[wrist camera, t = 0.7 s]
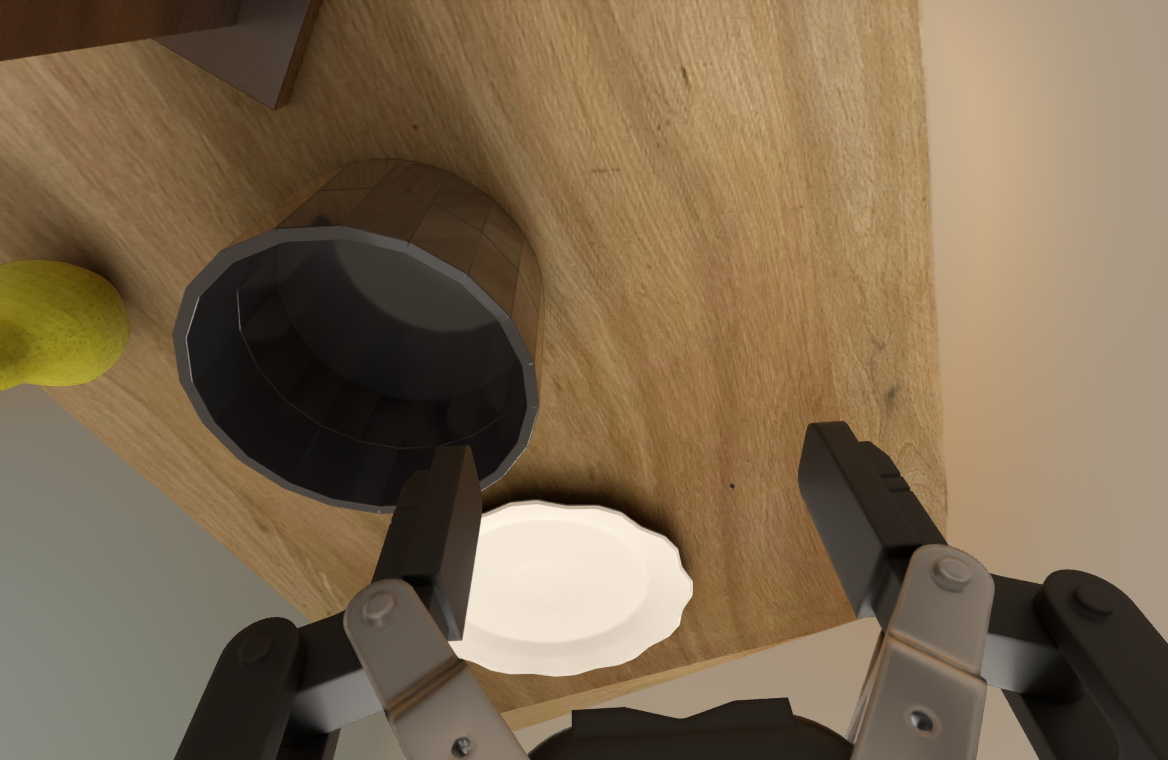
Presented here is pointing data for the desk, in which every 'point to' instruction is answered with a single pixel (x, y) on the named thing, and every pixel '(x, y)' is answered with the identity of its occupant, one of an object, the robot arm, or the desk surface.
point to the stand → (175, 35)
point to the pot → (368, 334)
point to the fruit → (58, 324)
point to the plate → (569, 589)
